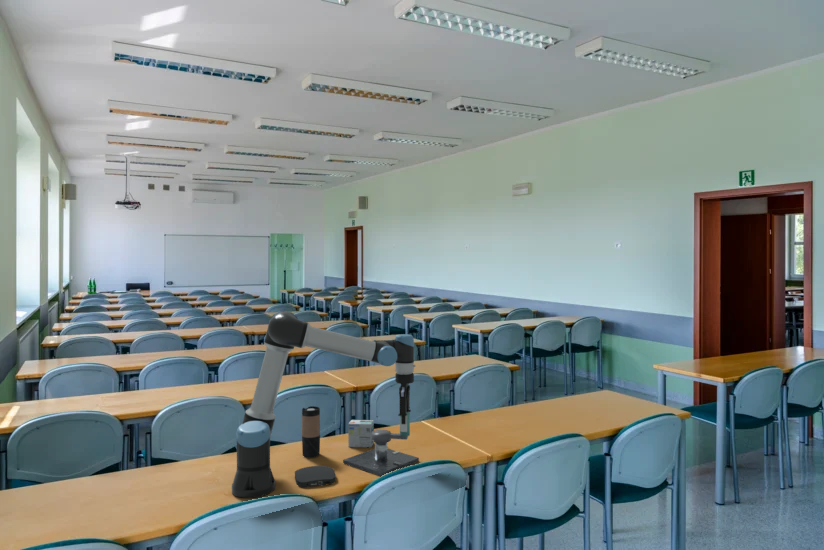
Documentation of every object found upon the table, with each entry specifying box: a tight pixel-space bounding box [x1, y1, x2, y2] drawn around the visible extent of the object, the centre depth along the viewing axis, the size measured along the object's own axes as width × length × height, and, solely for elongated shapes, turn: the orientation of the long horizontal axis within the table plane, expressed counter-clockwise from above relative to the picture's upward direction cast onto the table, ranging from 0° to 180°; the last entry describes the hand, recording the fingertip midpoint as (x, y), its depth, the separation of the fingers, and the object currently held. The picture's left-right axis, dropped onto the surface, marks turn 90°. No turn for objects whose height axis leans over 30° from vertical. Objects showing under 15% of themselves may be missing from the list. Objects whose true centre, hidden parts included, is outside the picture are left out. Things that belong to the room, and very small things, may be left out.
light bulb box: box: [347, 419, 375, 449], centre depth 252 cm, size 11×7×11 cm, turn 84°
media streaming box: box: [294, 465, 337, 488], centre depth 213 cm, size 15×15×3 cm
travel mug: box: [301, 405, 321, 459], centre depth 239 cm, size 8×8×20 cm
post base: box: [342, 442, 420, 477], centre depth 230 cm, size 22×22×9 cm
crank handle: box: [371, 412, 411, 444], centre depth 229 cm, size 8×16×12 cm, turn 79°
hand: (404, 429), depth 228 cm, fingers closed on crank handle, 4 cm apart
